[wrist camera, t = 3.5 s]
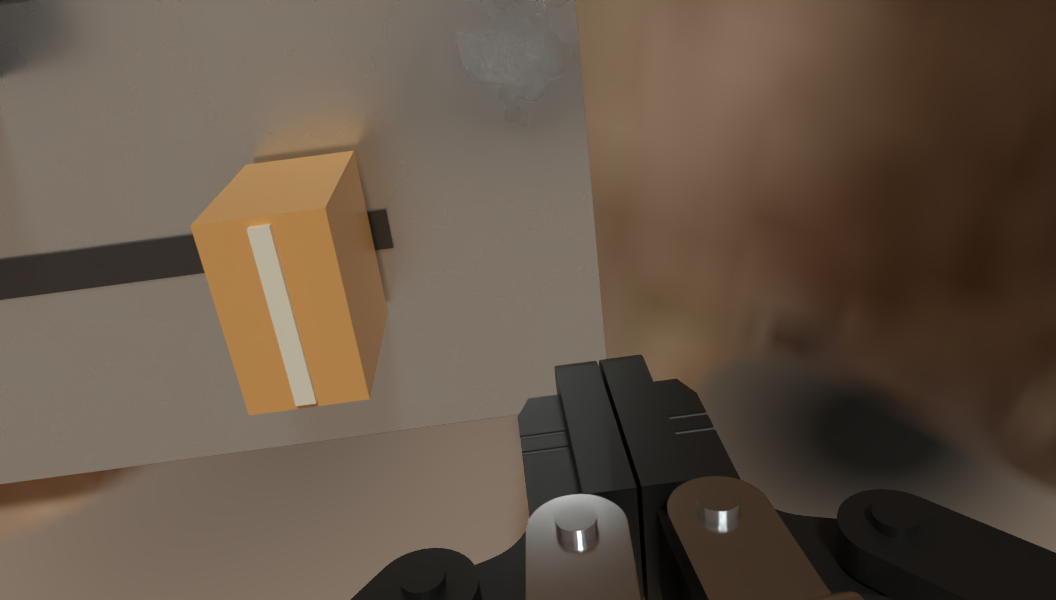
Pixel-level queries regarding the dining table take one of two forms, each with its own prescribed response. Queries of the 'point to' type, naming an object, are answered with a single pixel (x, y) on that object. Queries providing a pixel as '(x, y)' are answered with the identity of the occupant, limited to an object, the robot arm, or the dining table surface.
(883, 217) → the dining table surface
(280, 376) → the fader knob
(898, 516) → the robot arm
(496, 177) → the console panel
